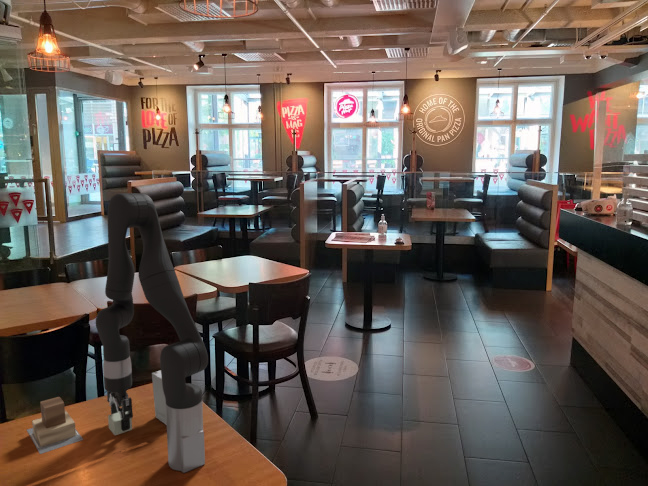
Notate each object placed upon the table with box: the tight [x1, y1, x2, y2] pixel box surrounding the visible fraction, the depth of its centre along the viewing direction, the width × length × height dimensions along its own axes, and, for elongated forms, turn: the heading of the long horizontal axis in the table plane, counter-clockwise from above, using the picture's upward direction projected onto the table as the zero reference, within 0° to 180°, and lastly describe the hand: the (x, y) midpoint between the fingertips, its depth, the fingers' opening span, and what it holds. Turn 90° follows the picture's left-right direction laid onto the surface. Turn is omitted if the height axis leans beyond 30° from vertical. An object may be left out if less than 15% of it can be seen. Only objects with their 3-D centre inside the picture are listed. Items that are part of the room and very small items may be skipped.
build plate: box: [26, 427, 84, 455], centre depth 147 cm, size 16×11×1 cm
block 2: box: [107, 412, 133, 436], centre depth 150 cm, size 5×5×5 cm
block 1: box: [39, 396, 66, 428], centre depth 146 cm, size 5×5×6 cm
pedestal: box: [31, 410, 77, 447], centre depth 146 cm, size 9×9×4 cm
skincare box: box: [151, 369, 167, 426], centre depth 157 cm, size 8×6×15 cm
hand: (120, 423), depth 150 cm, fingers open, 8 cm apart
